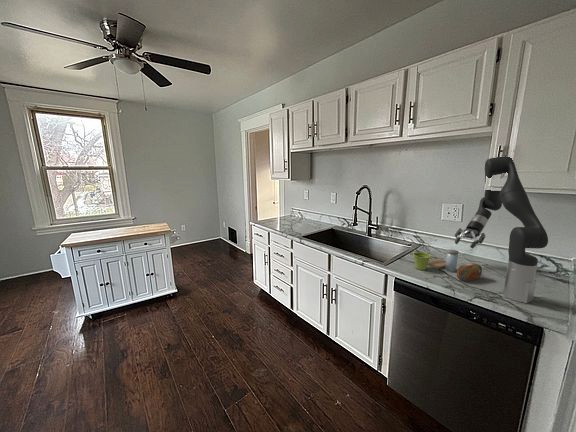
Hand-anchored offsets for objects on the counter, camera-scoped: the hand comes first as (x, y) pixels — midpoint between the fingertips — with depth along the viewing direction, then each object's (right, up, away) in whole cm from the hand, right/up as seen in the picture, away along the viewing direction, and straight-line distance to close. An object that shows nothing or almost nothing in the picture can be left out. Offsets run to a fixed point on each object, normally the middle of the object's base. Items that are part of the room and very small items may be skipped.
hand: (463, 245), depth 142 cm
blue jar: (-9, -15, -1) cm, 17 cm away
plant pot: (-24, -14, +3) cm, 28 cm away
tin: (-7, -17, -12) cm, 22 cm away
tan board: (-11, -13, +7) cm, 18 cm away
